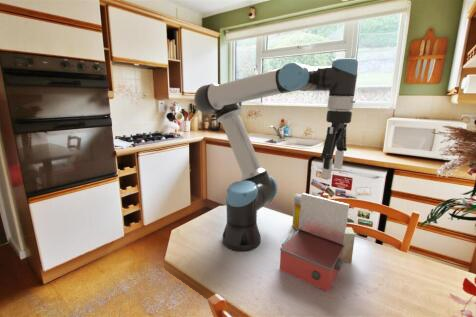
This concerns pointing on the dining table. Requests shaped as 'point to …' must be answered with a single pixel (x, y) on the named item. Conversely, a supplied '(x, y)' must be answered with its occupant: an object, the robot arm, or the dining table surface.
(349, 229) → the box
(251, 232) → the robot arm
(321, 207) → the lid
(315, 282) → the red hinged chest
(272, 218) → the dining table surface
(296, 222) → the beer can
